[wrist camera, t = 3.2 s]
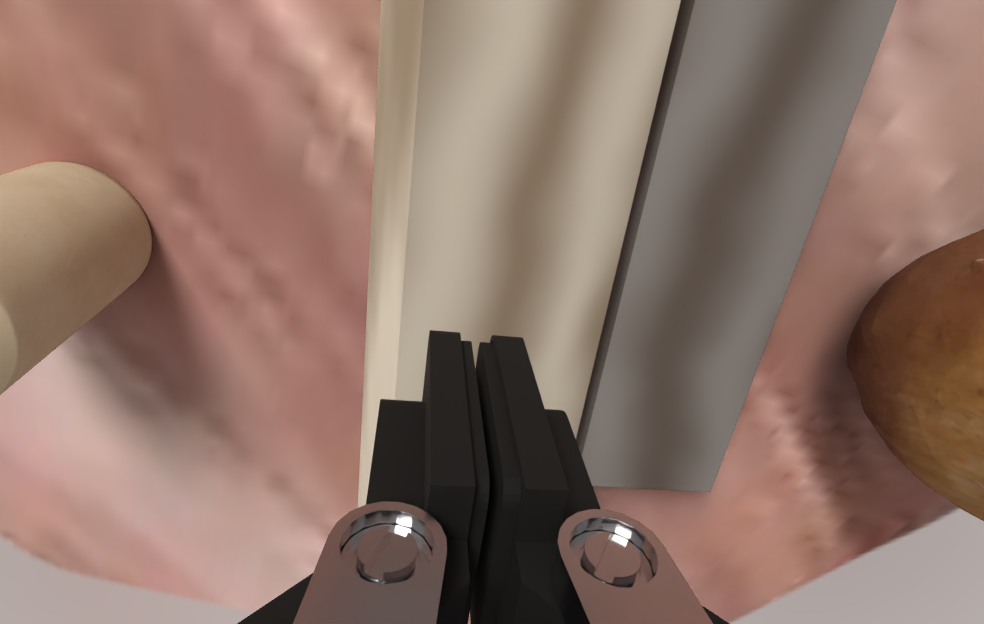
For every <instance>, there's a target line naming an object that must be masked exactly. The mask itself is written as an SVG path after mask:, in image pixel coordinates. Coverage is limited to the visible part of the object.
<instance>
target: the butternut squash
mask: <svg viewBox="0 0 984 624" xmlns="http://www.w3.org/2000/svg"><path fill="white" fill-rule="evenodd" d="M847 358H848V368H849V370H850V372H851V373H852V376H853V378H854V380H855V382H856V384H857V387H858V390H859V393H860V397H861V402H862V406H863V409H864V412H865V414H866V415H867V417H868V418H869V420H870V421H871V423H872V424H873V426H874V427H875V428H876V430H877V431H878V433H879V434H880V436H881V437H882V439H883V440H884V442H885V443H886V445H887V446H888V448H889V449H890V450H891V451H892V452H893V453H894V455H895V456H896V457H897V458H898V459H899V460H900V461H901V462H902V463H903V464H904V465H905V466H906V467H907V468H908V469H909V470H910V471H911V472H912V473H913V474H914V475H915V476H916V477H917V478H918V479H920V480H921V481H922V482H924V483H925V484H926V485H928V486H929V487H930V488H932V489H933V490H934V491H936V492H937V493H939V494H940V495H942V496H943V497H945V498H947V499H948V500H950V501H951V502H953V503H954V504H955V505H957V506H958V507H959V508H961V509H963V510H964V511H966V512H968V513H970V514H972V515H973V516H976V517H977V518H979V519H981V520H983V521H984V230H981V231H979V232H976V233H974V234H972V235H969V236H967V237H964V238H962V239H959V240H956V241H954V242H951V243H949V244H947V245H945V246H943V247H941V248H938V249H936V250H934V251H932V252H930V253H928V254H926V255H923V256H921V257H920V258H918V259H917V260H915V261H914V262H912V263H911V264H909V265H908V266H906V267H905V268H904V269H902V270H901V271H899V272H898V273H897V274H895V275H894V276H893V277H891V278H890V279H889V280H888V281H886V282H885V283H884V284H883V285H882V287H881V288H880V289H879V290H878V292H877V293H876V294H875V295H874V296H873V298H872V299H871V300H870V301H869V303H868V304H867V306H866V307H865V309H864V311H863V312H862V314H861V316H860V318H859V320H858V321H857V323H856V325H855V327H854V330H853V332H852V334H851V337H850V340H849V343H848V349H847Z"/></svg>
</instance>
